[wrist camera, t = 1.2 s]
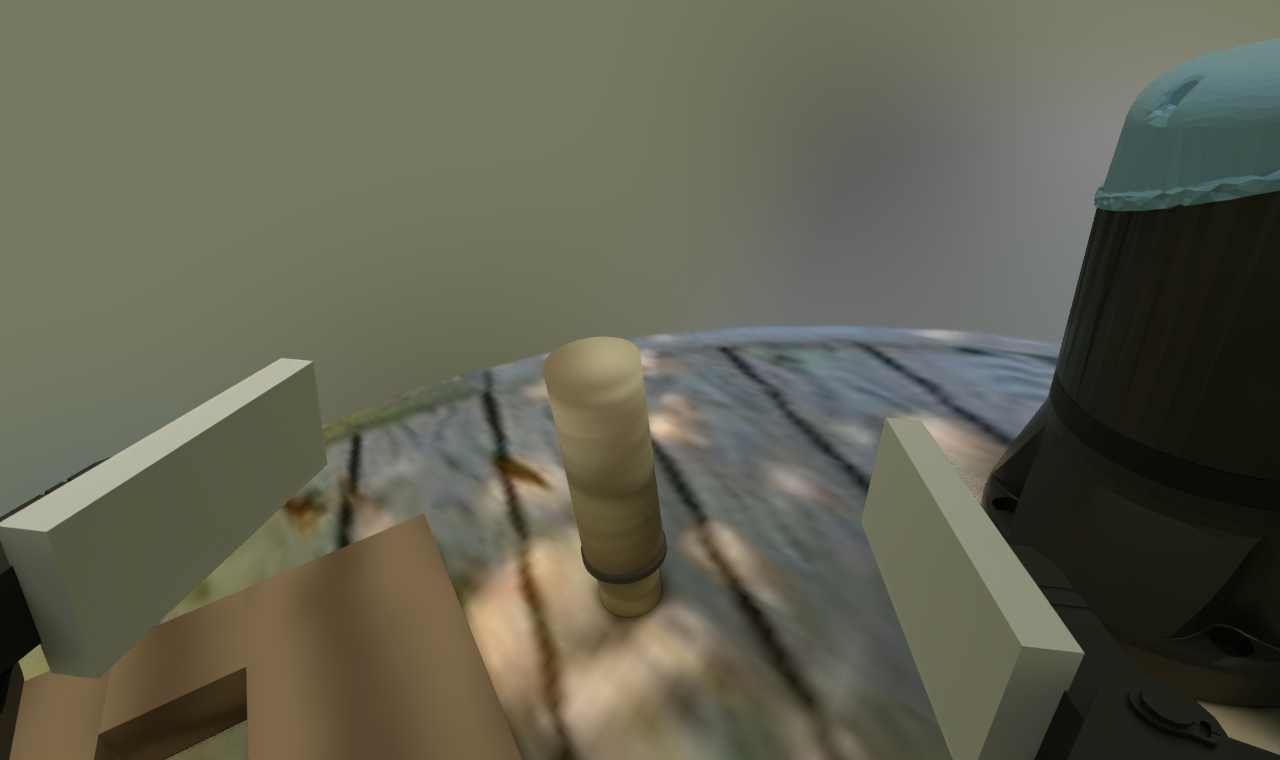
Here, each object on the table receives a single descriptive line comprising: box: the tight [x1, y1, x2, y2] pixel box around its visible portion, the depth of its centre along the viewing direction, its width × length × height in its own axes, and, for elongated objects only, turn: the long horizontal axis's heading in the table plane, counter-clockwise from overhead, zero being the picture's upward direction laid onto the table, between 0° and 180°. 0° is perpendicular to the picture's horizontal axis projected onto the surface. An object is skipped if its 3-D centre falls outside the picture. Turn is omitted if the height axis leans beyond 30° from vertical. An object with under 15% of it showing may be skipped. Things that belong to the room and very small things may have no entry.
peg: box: [543, 337, 667, 617], centre depth 30 cm, size 4×4×14 cm
